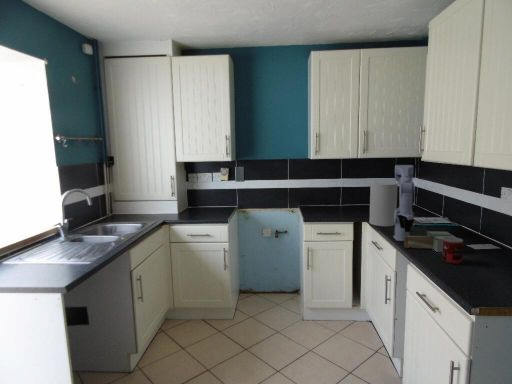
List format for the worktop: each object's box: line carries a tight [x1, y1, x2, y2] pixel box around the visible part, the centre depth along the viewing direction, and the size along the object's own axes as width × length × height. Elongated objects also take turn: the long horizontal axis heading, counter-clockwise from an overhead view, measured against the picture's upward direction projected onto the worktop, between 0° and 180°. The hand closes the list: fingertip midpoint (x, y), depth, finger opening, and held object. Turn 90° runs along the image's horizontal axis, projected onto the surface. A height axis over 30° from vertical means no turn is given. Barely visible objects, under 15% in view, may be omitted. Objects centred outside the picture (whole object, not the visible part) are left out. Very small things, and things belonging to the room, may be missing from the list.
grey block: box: [425, 230, 456, 253], centre depth 171 cm, size 14×11×8 cm
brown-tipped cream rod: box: [403, 235, 433, 249], centre depth 173 cm, size 2×14×6 cm, turn 82°
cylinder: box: [369, 182, 399, 227], centre depth 225 cm, size 17×17×28 cm
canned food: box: [441, 236, 464, 265], centre depth 152 cm, size 8×8×11 cm
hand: (405, 230), depth 175 cm, fingers open, 7 cm apart
